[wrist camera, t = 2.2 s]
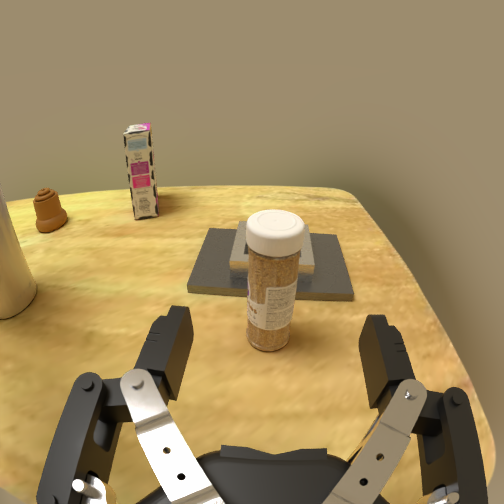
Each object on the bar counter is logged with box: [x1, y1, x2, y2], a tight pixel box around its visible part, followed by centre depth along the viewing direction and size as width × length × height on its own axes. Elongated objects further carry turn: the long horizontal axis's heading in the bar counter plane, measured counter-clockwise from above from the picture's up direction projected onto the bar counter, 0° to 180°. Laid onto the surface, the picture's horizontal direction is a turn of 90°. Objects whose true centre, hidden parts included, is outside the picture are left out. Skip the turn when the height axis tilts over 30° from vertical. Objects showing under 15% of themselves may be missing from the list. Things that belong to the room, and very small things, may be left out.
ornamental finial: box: [33, 188, 67, 232], centre depth 49 cm, size 8×8×8 cm
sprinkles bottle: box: [246, 210, 305, 351], centre depth 26 cm, size 5×5×14 cm
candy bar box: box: [123, 123, 159, 220], centre depth 52 cm, size 11×5×16 cm, turn 18°
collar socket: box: [187, 221, 354, 301], centre depth 40 cm, size 20×14×4 cm
